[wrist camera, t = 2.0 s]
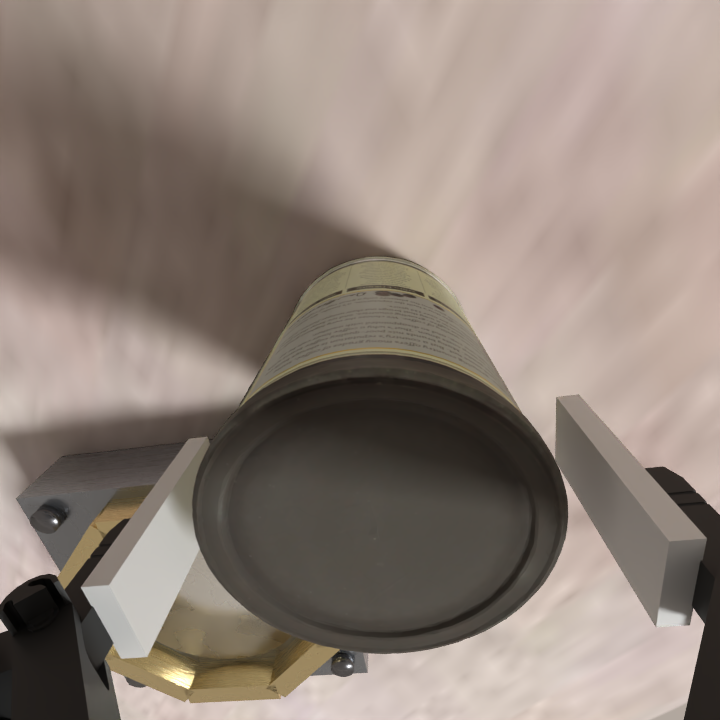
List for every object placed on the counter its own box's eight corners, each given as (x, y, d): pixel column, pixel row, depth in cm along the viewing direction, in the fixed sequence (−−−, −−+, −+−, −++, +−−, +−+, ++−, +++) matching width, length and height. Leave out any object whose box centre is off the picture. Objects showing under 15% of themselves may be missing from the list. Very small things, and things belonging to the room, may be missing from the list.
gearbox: (61, 456, 29) (-10, 521, 24) (326, 426, 27) (312, 490, 22) (155, 632, 36) (116, 712, 31) (368, 618, 34) (367, 701, 29)
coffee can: (495, 384, 26) (612, 606, 13) (339, 444, 28) (303, 685, 15) (428, 218, 22) (495, 295, 9) (254, 302, 24) (110, 461, 11)
